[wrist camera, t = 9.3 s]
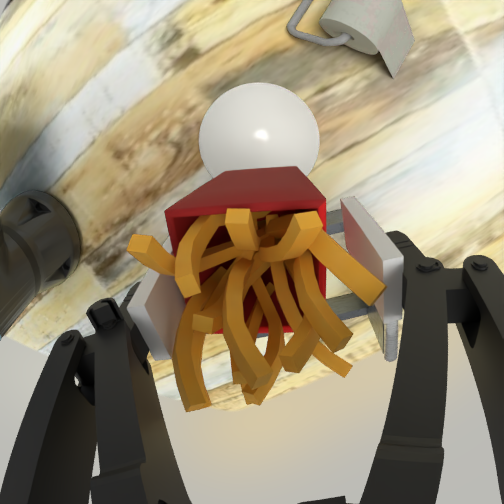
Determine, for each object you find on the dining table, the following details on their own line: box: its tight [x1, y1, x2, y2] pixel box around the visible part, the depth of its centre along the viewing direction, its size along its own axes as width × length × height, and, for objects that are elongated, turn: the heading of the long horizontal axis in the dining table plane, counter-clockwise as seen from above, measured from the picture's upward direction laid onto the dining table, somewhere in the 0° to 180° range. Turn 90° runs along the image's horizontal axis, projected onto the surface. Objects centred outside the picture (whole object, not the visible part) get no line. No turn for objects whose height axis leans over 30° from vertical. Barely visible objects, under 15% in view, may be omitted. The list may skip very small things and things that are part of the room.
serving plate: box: [199, 82, 320, 178], centre depth 36 cm, size 14×14×1 cm
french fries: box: [126, 166, 387, 412], centre depth 16 cm, size 9×8×15 cm
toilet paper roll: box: [287, 0, 415, 79], centre depth 28 cm, size 10×11×12 cm
